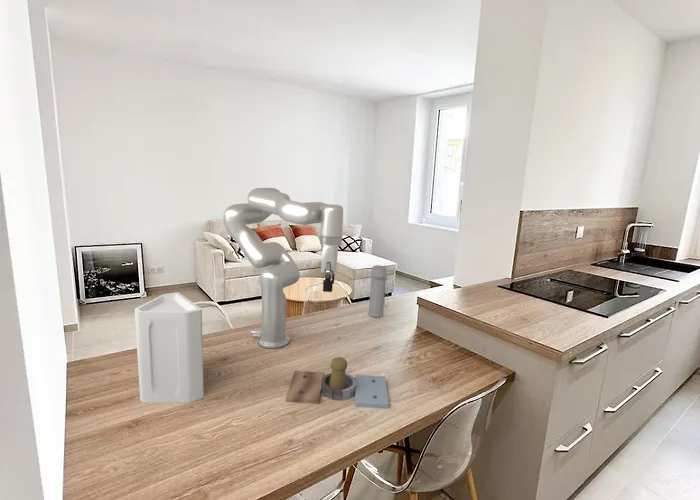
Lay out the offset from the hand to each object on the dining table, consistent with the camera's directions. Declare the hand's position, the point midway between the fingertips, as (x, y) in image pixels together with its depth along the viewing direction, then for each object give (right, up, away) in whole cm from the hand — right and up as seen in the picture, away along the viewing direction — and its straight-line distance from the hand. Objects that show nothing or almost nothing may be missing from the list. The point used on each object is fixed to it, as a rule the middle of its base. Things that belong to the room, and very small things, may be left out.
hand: (328, 287), depth 134 cm
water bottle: (+21, -20, +53) cm, 60 cm away
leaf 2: (+12, -32, -13) cm, 37 cm away
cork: (+4, -32, -13) cm, 35 cm away
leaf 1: (-3, -31, -13) cm, 34 cm away
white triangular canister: (-48, -30, -19) cm, 60 cm away
